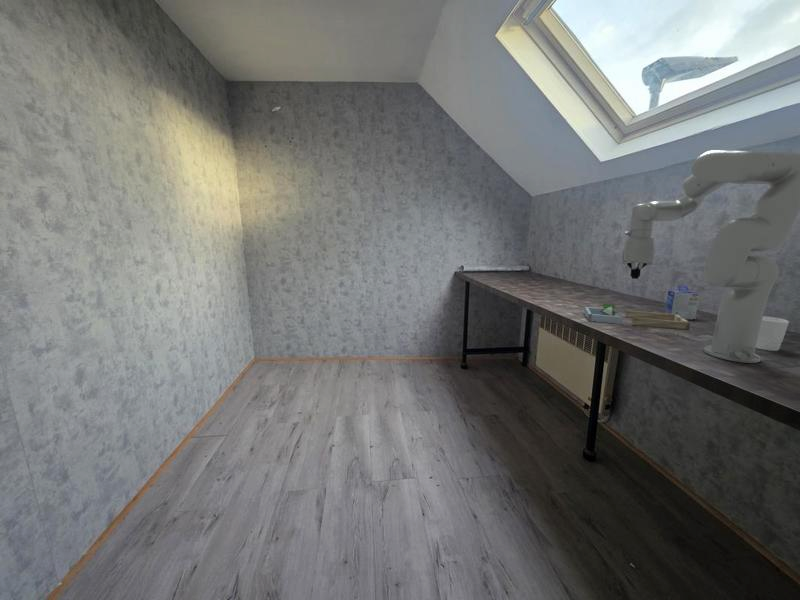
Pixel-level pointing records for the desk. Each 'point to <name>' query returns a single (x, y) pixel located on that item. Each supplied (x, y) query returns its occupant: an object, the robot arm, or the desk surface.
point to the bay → (601, 316)
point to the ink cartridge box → (682, 303)
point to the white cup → (771, 333)
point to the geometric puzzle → (608, 310)
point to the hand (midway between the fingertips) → (634, 278)
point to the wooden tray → (658, 320)
